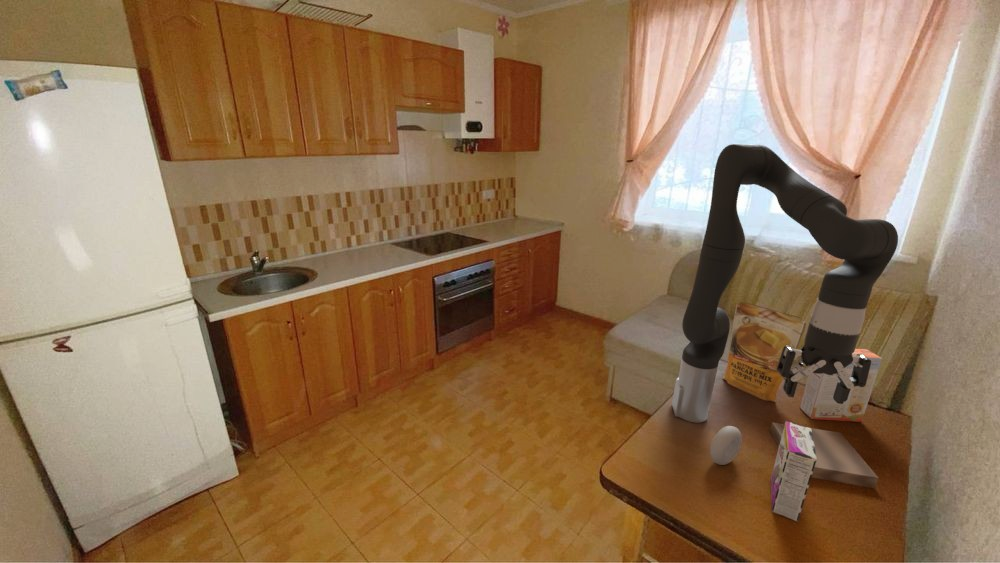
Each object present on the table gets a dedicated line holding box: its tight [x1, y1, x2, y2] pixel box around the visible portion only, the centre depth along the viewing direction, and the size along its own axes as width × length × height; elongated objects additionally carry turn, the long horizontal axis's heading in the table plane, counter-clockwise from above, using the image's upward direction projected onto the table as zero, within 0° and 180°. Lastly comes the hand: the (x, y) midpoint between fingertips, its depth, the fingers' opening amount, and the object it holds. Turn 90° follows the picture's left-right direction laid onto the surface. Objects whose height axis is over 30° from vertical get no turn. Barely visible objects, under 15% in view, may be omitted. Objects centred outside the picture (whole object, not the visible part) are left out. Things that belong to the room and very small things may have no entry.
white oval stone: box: [709, 425, 743, 465], centre depth 97 cm, size 10×4×10 cm, turn 120°
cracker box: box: [799, 348, 883, 423], centre depth 113 cm, size 14×6×21 cm, turn 84°
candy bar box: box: [770, 421, 817, 522], centre depth 85 cm, size 11×5×16 cm, turn 148°
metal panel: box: [769, 421, 880, 489], centre depth 100 cm, size 16×16×3 cm
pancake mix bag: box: [722, 301, 807, 403], centre depth 125 cm, size 7×19×28 cm, turn 34°
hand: (813, 398), depth 80 cm, fingers open, 8 cm apart
